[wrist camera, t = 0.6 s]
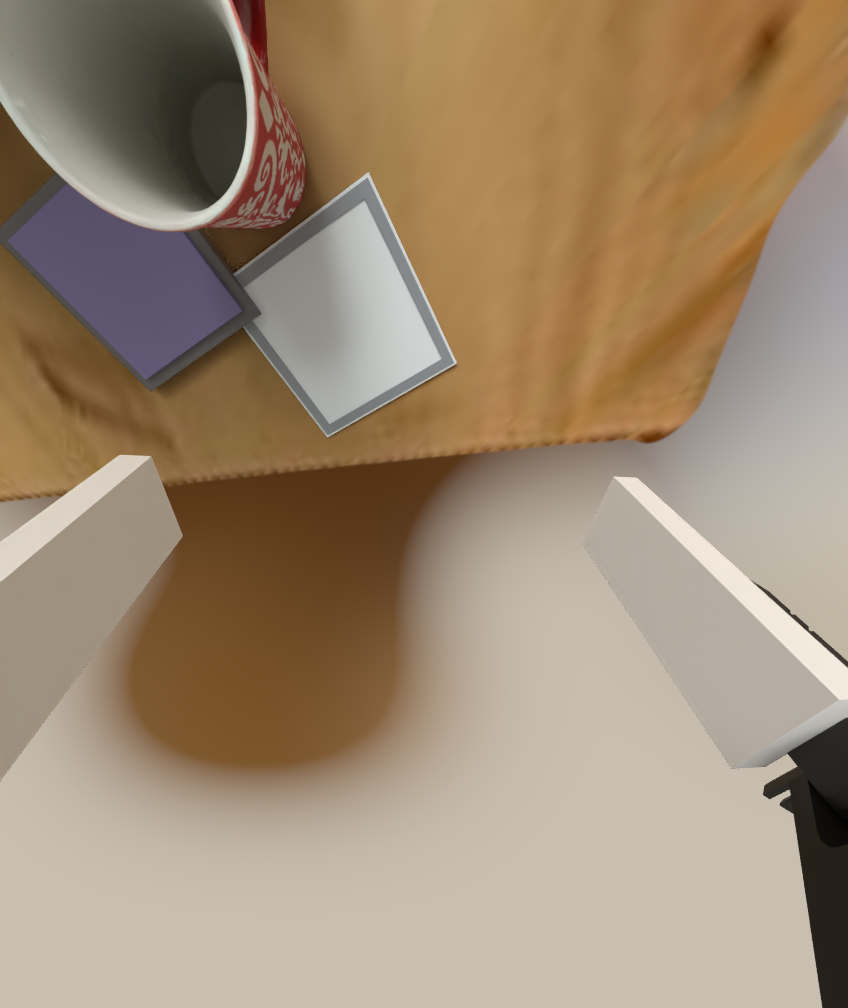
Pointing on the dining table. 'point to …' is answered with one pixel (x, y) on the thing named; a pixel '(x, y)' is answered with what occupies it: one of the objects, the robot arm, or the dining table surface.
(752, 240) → the dining table surface
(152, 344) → the ink pad
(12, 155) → the dining table surface
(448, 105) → the dining table surface
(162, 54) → the mug
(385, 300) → the print card
